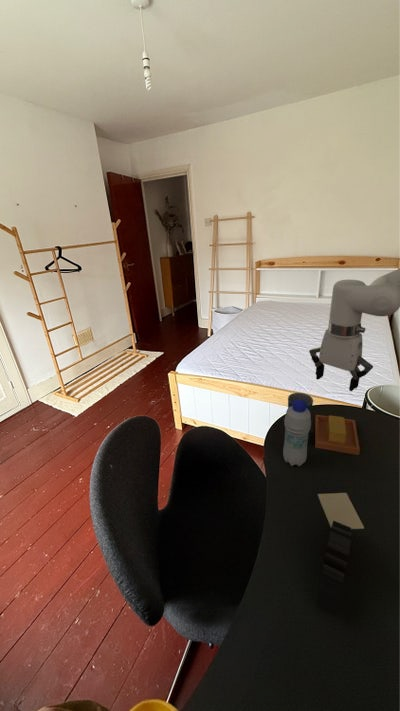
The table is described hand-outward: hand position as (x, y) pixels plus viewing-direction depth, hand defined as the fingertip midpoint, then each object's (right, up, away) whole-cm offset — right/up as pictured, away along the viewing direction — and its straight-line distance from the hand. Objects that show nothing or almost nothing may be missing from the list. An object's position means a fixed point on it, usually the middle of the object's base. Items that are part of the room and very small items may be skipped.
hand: (335, 383), depth 86 cm
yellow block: (+2, -16, +5) cm, 17 cm away
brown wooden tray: (+2, -17, +5) cm, 18 cm away
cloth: (-7, -28, -17) cm, 34 cm away
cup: (-10, -18, +5) cm, 21 cm away
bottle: (-13, -22, -2) cm, 25 cm away
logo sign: (-13, -34, -28) cm, 46 cm away
